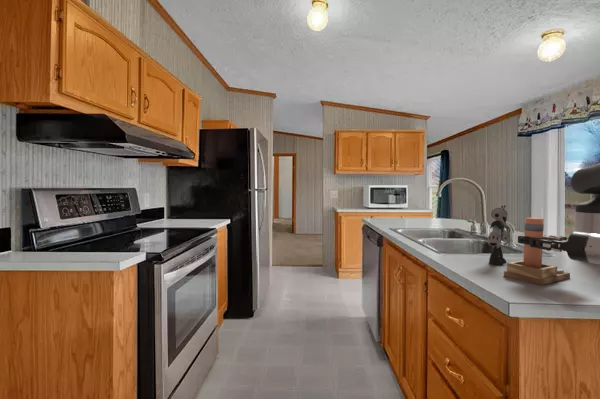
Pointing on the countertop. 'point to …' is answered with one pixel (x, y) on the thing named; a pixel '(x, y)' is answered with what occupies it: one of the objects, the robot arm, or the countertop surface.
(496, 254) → the robot
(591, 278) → the countertop surface
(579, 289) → the countertop surface
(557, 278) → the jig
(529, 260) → the banded orange cylinder
